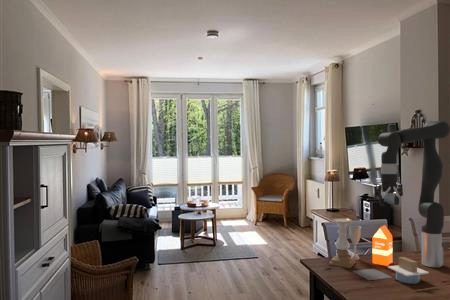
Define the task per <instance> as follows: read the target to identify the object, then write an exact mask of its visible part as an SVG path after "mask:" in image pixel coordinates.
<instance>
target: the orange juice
mask: <svg viewBox="0 0 450 300" xmlns="http://www.w3.org/2000/svg"><path fill="white" fill-rule="evenodd" d="M371 242H372V249H371V250H372V251H371V252H372V253H371V254H372V264H375V265H380V266H385V267H388V266H390V264H393V262H394V261H393V235H392V233H391V232H390V230H389V229H388V228H387V226H386V224H384V225H382V226H381V227H379V228H378V230H377V231H376V232H375V233H374V235H373V236H372V239H371Z"/></svg>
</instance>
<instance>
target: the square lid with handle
mask: <svg viewBox="0 0 450 300" xmlns="http://www.w3.org/2000/svg"><path fill="white" fill-rule="evenodd" d="M387 269H390V270H392V271H393V272H395V273H396V272H398V273H401V274H403V275H405V276H413V275H420V276H421V275H429V273H430V272H429V271H426V270H424V269H421V268H419V267H418V261H416V260H413V259H411V258H408V257H406V256H400V257H398V264H397V265H388V266H387Z"/></svg>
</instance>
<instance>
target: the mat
mask: <svg viewBox="0 0 450 300" xmlns="http://www.w3.org/2000/svg"><path fill="white" fill-rule="evenodd" d="M352 272H353V273H355V274H356V275H358V276H360V277H362V278H364V280H368V281H375V280H382V279H390V278H393V276H390V275H389V274H387V273H385V272H382V271H380V270H378V269H377V268H365V269H359V270H352Z"/></svg>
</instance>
